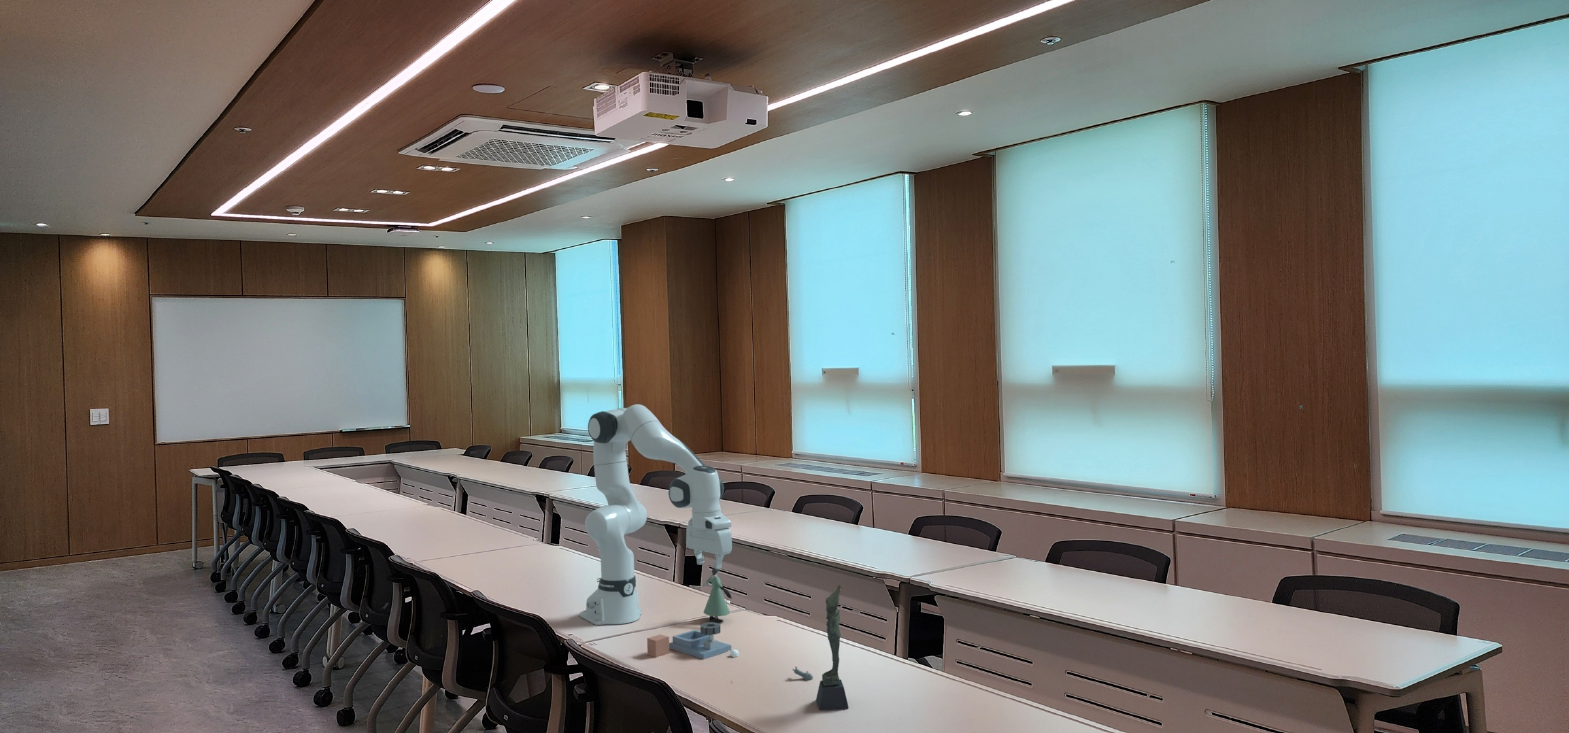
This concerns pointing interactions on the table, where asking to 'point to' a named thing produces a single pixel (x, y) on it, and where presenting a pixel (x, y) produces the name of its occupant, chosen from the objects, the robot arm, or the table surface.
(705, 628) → the wheel
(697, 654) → the chassis
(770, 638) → the table surface
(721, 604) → the character figurine
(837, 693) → the statue
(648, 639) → the brown small block
